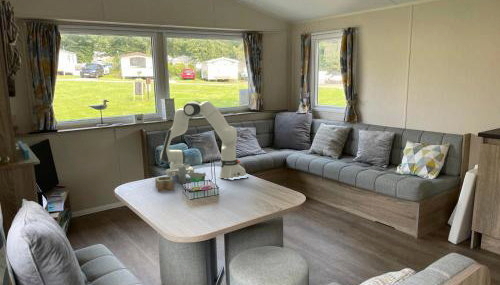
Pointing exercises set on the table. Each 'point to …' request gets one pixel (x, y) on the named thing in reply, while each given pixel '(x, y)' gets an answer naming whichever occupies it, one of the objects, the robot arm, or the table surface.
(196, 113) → the robot arm
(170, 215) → the table surface
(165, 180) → the walnut holder
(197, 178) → the food container
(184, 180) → the slate grey canister
